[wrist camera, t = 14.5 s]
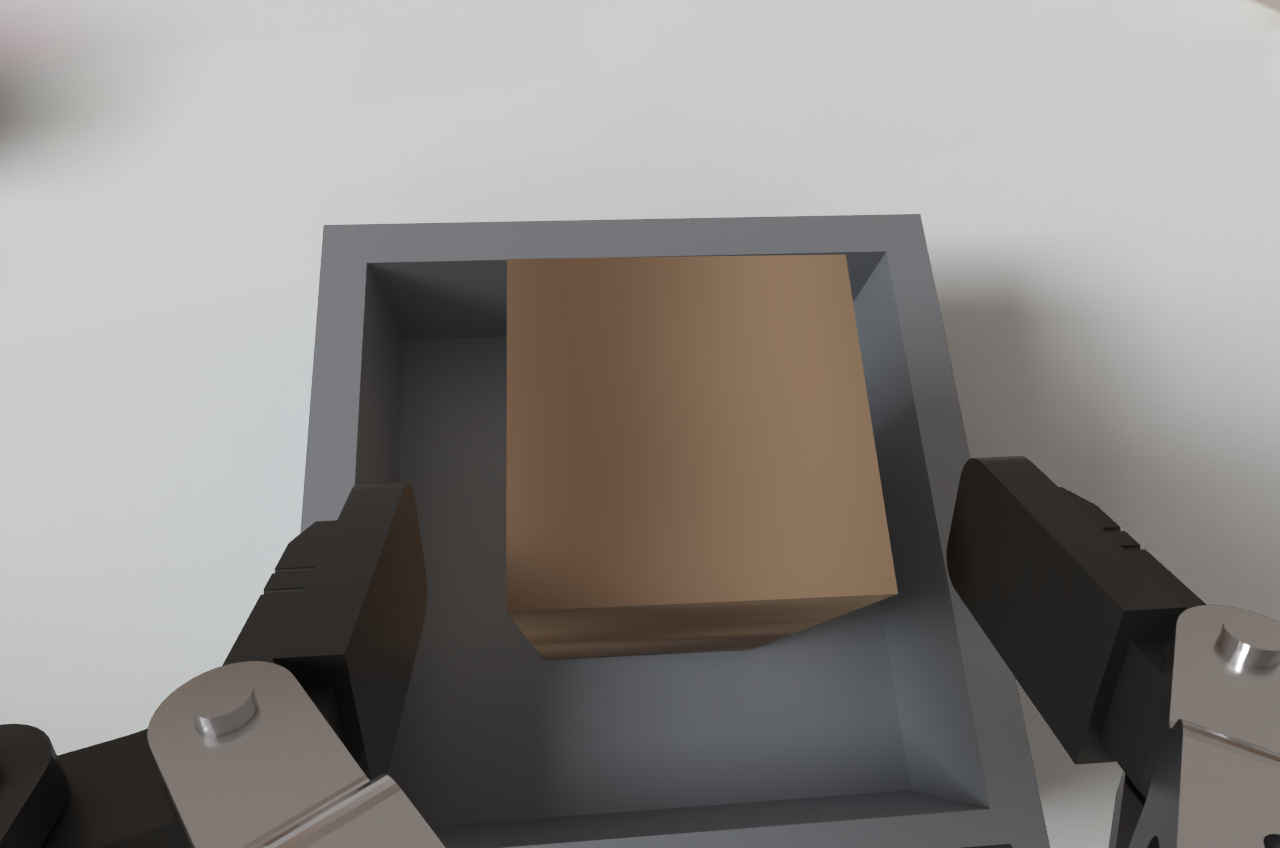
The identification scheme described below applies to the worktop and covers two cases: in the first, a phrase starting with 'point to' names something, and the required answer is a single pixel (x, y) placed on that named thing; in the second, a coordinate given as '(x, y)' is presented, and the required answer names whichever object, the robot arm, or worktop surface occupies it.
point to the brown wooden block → (687, 454)
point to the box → (670, 683)
